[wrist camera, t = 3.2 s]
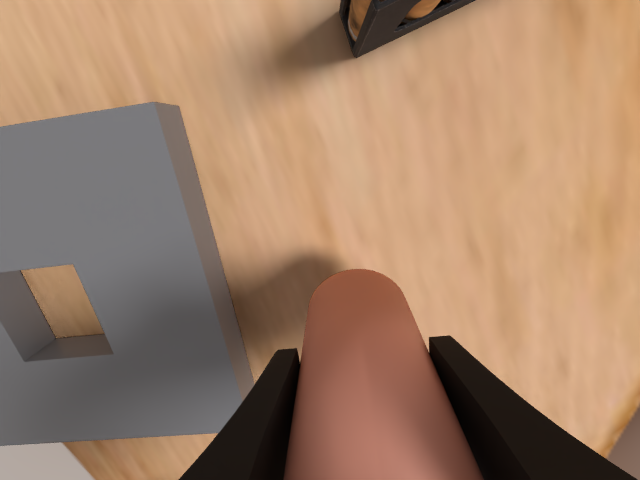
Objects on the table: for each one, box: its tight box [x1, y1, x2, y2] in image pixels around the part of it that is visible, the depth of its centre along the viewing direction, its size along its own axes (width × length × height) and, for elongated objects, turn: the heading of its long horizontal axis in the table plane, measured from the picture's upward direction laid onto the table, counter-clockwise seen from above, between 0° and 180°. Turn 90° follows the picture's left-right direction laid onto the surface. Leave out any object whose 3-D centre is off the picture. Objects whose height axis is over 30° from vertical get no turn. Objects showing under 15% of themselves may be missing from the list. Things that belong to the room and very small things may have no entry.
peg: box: [283, 269, 484, 480], centre depth 8 cm, size 4×4×8 cm
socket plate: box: [0, 102, 254, 446], centre depth 16 cm, size 18×18×2 cm
